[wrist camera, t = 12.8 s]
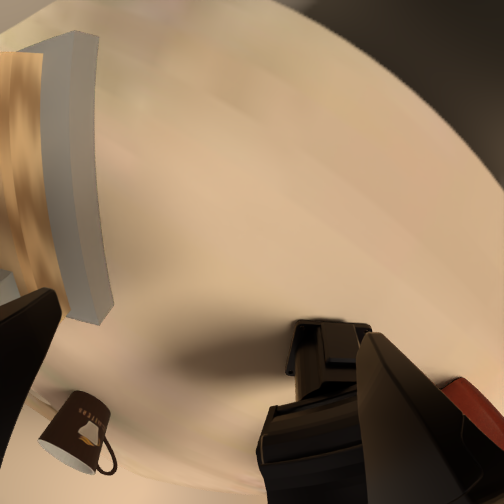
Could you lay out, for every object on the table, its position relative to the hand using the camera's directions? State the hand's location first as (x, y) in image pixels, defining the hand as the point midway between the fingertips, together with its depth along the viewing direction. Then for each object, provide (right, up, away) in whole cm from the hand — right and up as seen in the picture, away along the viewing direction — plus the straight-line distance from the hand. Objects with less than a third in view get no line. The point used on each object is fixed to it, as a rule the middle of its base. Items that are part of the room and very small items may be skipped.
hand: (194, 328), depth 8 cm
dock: (-16, +8, +12) cm, 21 cm away
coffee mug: (-21, -21, +28) cm, 41 cm away
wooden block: (-16, +6, +10) cm, 20 cm away
